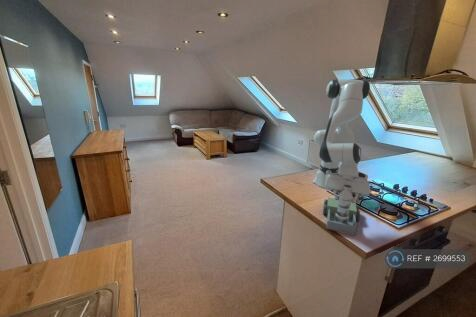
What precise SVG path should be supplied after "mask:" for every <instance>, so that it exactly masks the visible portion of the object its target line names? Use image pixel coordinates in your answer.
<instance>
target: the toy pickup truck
mask: <svg viewBox="0 0 476 317" xmlns="http://www.w3.org/2000/svg"><path fill="white" fill-rule="evenodd" d="M337 208H338V200H335V197H327V199H324V202H323V210H322V214H323V215H327V216H326V219H327V220H326V229H327V230H330V231H335V232H338V233H343V234H348V235H352V236H356V235H357V234H356V232H357V229H358V226H357V221H358V222H359V220H360V216H361V212H360V210H359V209H360V207H359V205H357V203H352V202H351V205H350V209H349V220H348V222H347V223H346V224H343V223H339V222H336V221H335V213H336V211H337Z"/></svg>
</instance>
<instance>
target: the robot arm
mask: <svg viewBox="0 0 476 317" xmlns="http://www.w3.org/2000/svg"><path fill="white" fill-rule="evenodd" d="M326 85H327V86H326V89H325V91H326V97H327V98H328V99H332V102H331V104H330V111H329V115H328V123H327V125H326V126H327V127H326V129H319V130H317V131H316V132H315V133H314V135H313V142H314V143H315V145H316V146H317V147H318V148H319V152H318V155H319V159H320V160H321V163H320V165H319V170H317V171H316V176H315V178H314V179H313V180H312V183H313V184H315V185H317V186H318V187H319V188H323V189H324V190H326V191H331V192H332V193H333V195H334V198H335V200H338V197H339V195H337V194H338V193H340V192H341V191H342V190H343V186H344V185H350V186H352V190H351V193H352V195H354V198H353V200H352V203H356V201H357V199H358V198H359V196H360V197H367V198H368V196H370V193H371V186H370V185H371V184H370V181H369V180H368V179H369V175H368V174H366V173H364V172H361V171H359V168H358V165H359V162H361V156H362V149H361V147H360V146H359V145H358V143H356V142H355V140H356V137H355V136H356V135H355V133H354V132H353V131H352V130H351V128H350V126H349V123H350V122H353V121H354V120H356V119H358V117H359V116H361V114H362V111H363V106H364V105H363V104H364V100H365V99H366V98H367V97H368V96H369V94H370V91H371V85H370V82H369V81H367V80H364V79H355V78H354V79H353V78H349V79H346V78H345V79H335V78H334V79H331V80H330V81H329V82H328V83H327V84H326ZM337 192H338V193H337ZM356 204H357V203H356Z"/></svg>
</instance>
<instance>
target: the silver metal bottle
mask: <svg viewBox="0 0 476 317" xmlns="http://www.w3.org/2000/svg"><path fill="white" fill-rule="evenodd" d="M351 190H352V186H350V185H344V186H343V190H342V191H341V192H338V196H339V197H338V208H337V211H336V213H335V221H336V222H339V223H343V224H346V223H347V222H348V220H349V209H350V205H351V202H352V200H353V199H354V196H353V195H354V194H352V193H351Z"/></svg>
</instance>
